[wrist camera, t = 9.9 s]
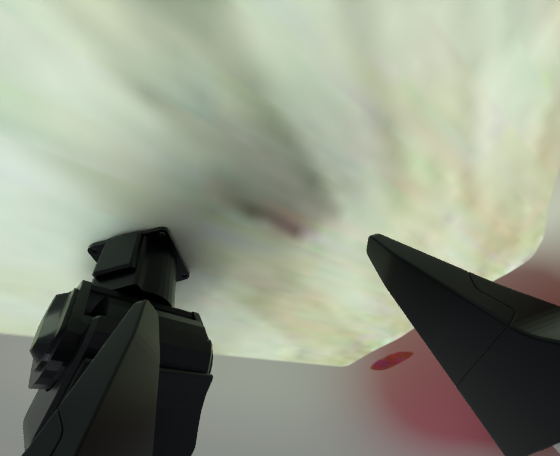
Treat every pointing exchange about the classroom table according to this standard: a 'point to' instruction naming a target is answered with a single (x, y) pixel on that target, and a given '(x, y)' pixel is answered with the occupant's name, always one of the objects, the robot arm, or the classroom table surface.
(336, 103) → the classroom table surface
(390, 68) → the classroom table surface
